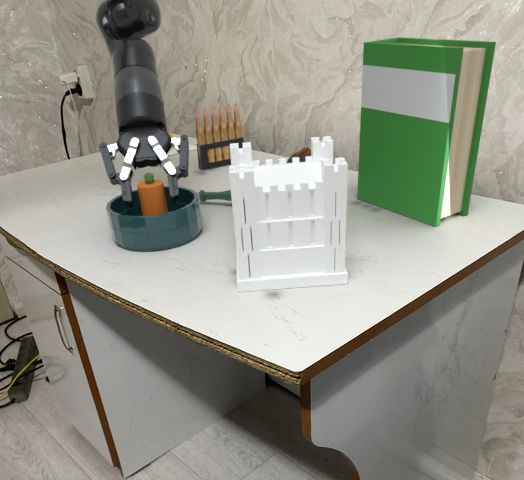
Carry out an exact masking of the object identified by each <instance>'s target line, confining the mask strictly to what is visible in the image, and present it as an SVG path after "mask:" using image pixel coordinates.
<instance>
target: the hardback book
mask: <svg viewBox="0 0 524 480" xmlns="http://www.w3.org/2000/svg"><path fill="white" fill-rule="evenodd" d="M496 44H497V41H487V40H485V41H484V40H465V39H463V40H462V39H444V38H443V39H442V38H425V37H424V38H419V37H403V36H402V37H399V36H398V37H392V38H384V39H378V40H371V41H365V42H363V52H362V73H361V75H362V77H361V78H362V79H361V100H360V101H361V102H360V125H359V148H358V149H359V150H358V173H357V196H356V197H357V199H358V200H360V201H363V202H366V203H367V204H368V203H369V204H371V205H373V206H376V207H379V208H383V209H385V210H387V211H391V212H394V213H396V214H399V215H402V216H404V217H408V218H410V219H413V220H415V221H418V222H421V223H424V224H427V225H430V226H432V227H435V228H436V227H439V226H441V220H442V219H444V218H447V217H449V216H452V215H455V214H456V215H459V216H461V217H466V216H468V215H469V210H470V204H471V198H472V191H473V185H474V179H475V172H476V168H477V160H478V155H479V148H480V142H481V135H482V130H483V123H484V117H485V112H486V107H487V101H488V93H489V86H490V81H491V75H492V68H493V62H494V56H495V50H496V46H497V45H496Z"/></svg>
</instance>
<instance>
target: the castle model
mask: <svg viewBox="0 0 524 480" xmlns="http://www.w3.org/2000/svg"><path fill="white" fill-rule="evenodd" d="M242 144H243V148H239V146H238V143H232V144H230V156H231V164H230V165H228V167H229V168H228V176H229V177H228V179H229V188H230V190H231V198H232V201H231V207H232V208H231V209H232V217H233V228H234V229H233V230H234V240H235V248H236V249H235V250H236V252H235V253H236V289H237V293H247V292H258V291H259V292H260V291H270V290H271V291H272V290H284V289H285V290H286V289H299V288H311V287H324V286H325V287H326V286H339V285H348V284H349V273H348V270H347V267H346V248H347V247H346V243H347V242H346V241H347V206H348V173H349V168H348V167H349V164H348V163H347V161H346V159H345V157H334V139H333V138H332V137H331V135H326V136H325V135H324V136H322V140H320V136H313V137H310V150H311V156H305V160H306V162H299V157H292V163H287V159H286V157H279V158H278V163H274V161H273V158H268V159H265V164H260V160H259V159H253V152H252V151H253V150H252V141H247V142H244V143H242Z"/></svg>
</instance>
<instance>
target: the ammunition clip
mask: <svg viewBox="0 0 524 480" xmlns="http://www.w3.org/2000/svg"><path fill="white" fill-rule="evenodd" d="M200 113H201V112H200V111H199V109H198V108H196V110H195V135H196V147H197V149H196V150H197V162H198V163H197V164H198V169H199V170H201V171H207V170H211V169H215V168H220V167H225V166H231V156H230V144H232V143H238V146H239V148H243V144H242V143H245V141H244V137H243V126H242V121H241V115H240V109H239V105H238V103H237V102H235V103H234V106H233V111H232V108H231V105H230V104H229V103H227V106H226V116H225V111H224V108H223V106H222V104H220V105H219V109H218V114H217V111H216V108H215V106H212V107H211V115H210V116H209V111H208V109H207V107H204V110H203V116H201V114H200ZM202 117H203V123H202ZM210 117H211V122H210ZM218 117H219V118H218Z"/></svg>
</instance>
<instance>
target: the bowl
mask: <svg viewBox="0 0 524 480" xmlns="http://www.w3.org/2000/svg"><path fill="white" fill-rule="evenodd" d="M178 189H179V196H180V197H179V200H176V204H172V203H171V199H170V192H169V185H164V190H165V196H166V202H167V208H168V212H167V213H163V214H157V215H148V216H143V214H142V209H141V204H140V198H139V193H138V188H136V189H132V193H133V201H134V208H131V209H130V208H129V206H128V205H125V203H124V201H123V198H122V193H121V194H119V195H117V196H115V197H113V198H111V199H110V200H109V201H108V202H107V203H106V207H105V211H106V215H107V219H108V223H109V227H110V232H111V237H112V239H113V240H114V241H115V243H116V244H118V246H120V247H122V248H123V249H127V250H129V251H135V252H156V251H163V250H164V251H165V250H169V249H173V248H176V247H180V246H183V245H186V244H188V243H189V242H191V241H193V240H194V239H196V238H197V237H198V236H199V234H200V232H201V230H202V229H203V223H202V216H201V207H200V202H199V199H198V194H197V193H196V192H197V191H195V190H194V189H191V188H188V187H186V186H185V187H184V186H178Z"/></svg>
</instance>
